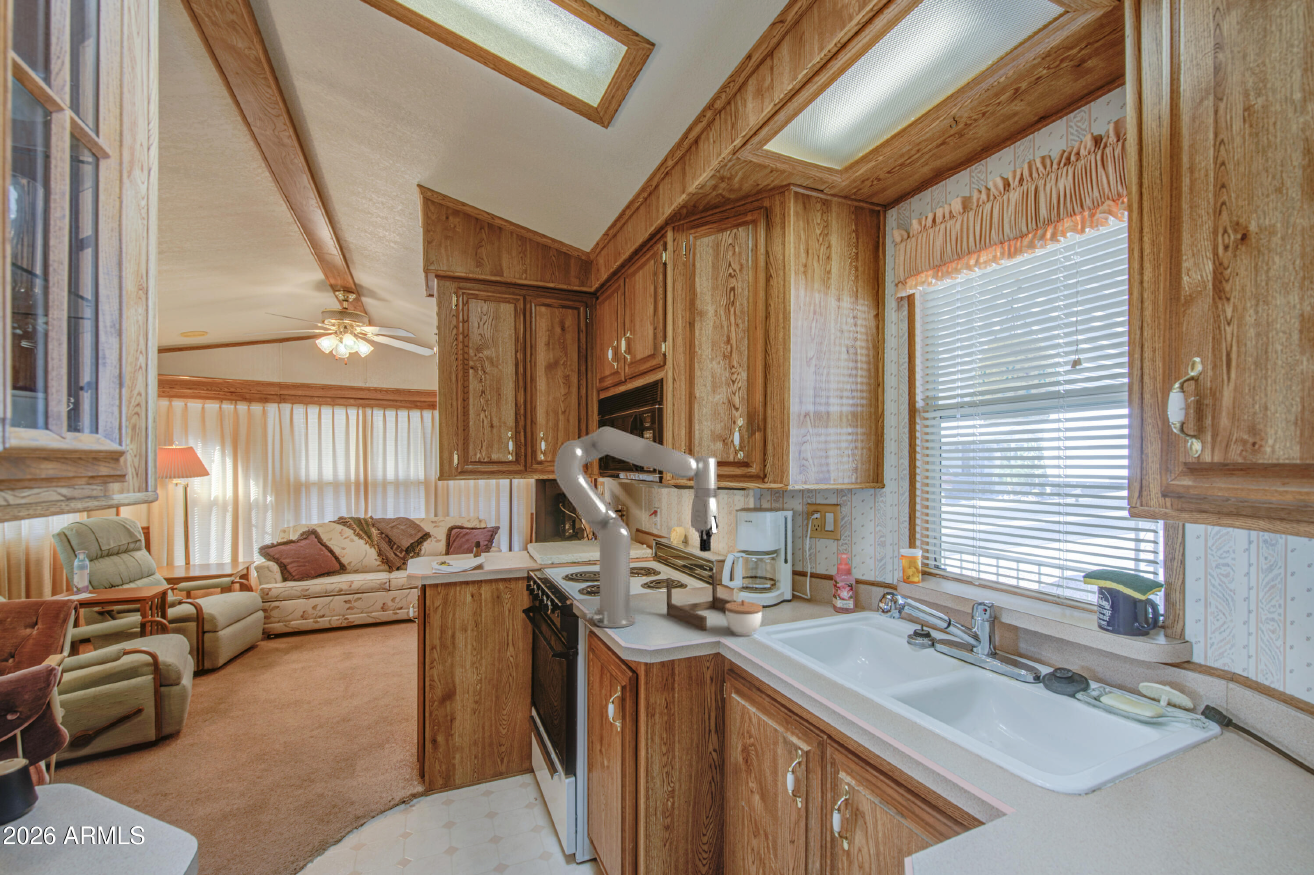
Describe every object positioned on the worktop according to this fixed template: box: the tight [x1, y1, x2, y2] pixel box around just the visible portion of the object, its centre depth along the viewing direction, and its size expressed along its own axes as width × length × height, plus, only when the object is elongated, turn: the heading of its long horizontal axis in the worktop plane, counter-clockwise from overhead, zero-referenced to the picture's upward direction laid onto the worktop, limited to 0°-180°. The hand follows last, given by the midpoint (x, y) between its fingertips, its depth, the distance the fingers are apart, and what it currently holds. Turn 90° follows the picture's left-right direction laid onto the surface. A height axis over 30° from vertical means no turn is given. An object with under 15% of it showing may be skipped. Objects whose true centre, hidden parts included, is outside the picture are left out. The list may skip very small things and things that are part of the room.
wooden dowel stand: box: [666, 571, 734, 632], centre depth 178 cm, size 19×21×12 cm
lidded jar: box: [725, 599, 763, 637], centre depth 162 cm, size 11×11×9 cm
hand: (705, 551), depth 179 cm, fingers closed
